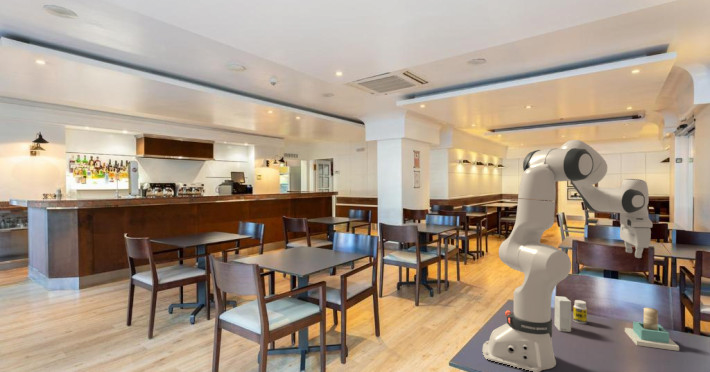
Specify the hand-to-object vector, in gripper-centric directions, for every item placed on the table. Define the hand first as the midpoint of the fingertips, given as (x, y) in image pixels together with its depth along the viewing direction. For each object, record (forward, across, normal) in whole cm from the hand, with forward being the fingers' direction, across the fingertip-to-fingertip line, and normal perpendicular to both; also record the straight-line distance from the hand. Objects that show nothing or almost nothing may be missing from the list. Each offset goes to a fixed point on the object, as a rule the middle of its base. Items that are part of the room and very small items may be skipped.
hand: (633, 255), depth 140 cm
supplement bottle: (+29, 0, -18) cm, 34 cm away
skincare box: (+29, +10, -26) cm, 40 cm away
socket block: (+29, +11, +2) cm, 31 cm away
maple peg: (+28, +11, +2) cm, 30 cm away
